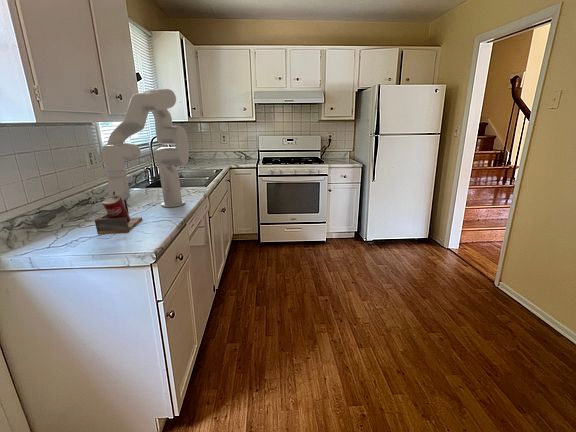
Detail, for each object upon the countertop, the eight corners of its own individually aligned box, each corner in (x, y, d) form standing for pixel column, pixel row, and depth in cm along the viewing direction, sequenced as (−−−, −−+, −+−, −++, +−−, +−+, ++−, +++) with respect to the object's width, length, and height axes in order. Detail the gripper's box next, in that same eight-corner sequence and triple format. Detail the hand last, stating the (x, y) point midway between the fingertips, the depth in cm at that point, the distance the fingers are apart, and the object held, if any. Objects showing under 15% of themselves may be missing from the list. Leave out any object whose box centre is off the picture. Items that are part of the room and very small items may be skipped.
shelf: (116, 221, 145) (113, 208, 143) (142, 219, 146) (140, 206, 144) (97, 234, 128) (94, 219, 126) (127, 232, 129) (125, 218, 127)
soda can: (125, 227, 130) (115, 204, 124) (109, 227, 131) (98, 204, 124) (133, 217, 136) (124, 195, 129) (118, 217, 137) (108, 195, 130)
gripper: (115, 172, 139) (122, 211, 144) (99, 177, 124) (108, 220, 130) (132, 171, 139) (139, 210, 145) (118, 176, 125) (126, 219, 130)
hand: (124, 214), depth 137 cm, fingers closed
